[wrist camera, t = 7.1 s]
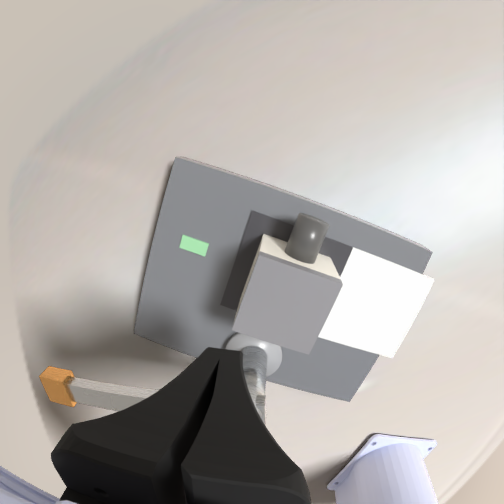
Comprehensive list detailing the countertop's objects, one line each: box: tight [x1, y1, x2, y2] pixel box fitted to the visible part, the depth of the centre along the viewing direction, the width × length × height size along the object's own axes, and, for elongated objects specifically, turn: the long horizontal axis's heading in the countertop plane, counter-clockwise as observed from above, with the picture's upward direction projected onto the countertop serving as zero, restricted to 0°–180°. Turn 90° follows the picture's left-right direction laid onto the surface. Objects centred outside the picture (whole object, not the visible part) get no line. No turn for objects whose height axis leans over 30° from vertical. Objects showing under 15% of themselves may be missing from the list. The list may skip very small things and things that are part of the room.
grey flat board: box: [134, 157, 435, 402], centre depth 20 cm, size 12×17×2 cm
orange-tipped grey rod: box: [39, 346, 268, 424], centre depth 18 cm, size 14×2×5 cm, turn 93°
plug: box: [232, 213, 343, 355], centre depth 16 cm, size 6×4×4 cm, turn 161°
